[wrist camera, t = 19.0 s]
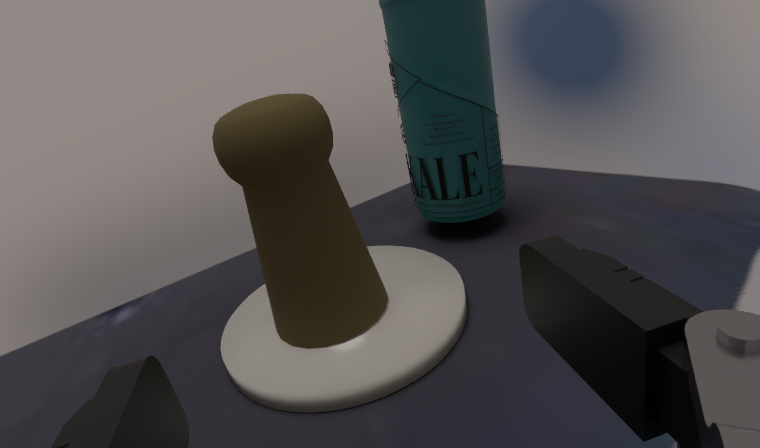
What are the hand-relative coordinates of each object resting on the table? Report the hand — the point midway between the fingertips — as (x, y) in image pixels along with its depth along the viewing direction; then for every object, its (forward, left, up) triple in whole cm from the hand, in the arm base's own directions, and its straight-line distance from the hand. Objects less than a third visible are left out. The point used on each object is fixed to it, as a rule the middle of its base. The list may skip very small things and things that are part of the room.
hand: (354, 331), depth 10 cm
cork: (-1, +12, -7) cm, 14 cm away
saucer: (0, +13, -8) cm, 15 cm away
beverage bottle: (+10, +20, -8) cm, 24 cm away
